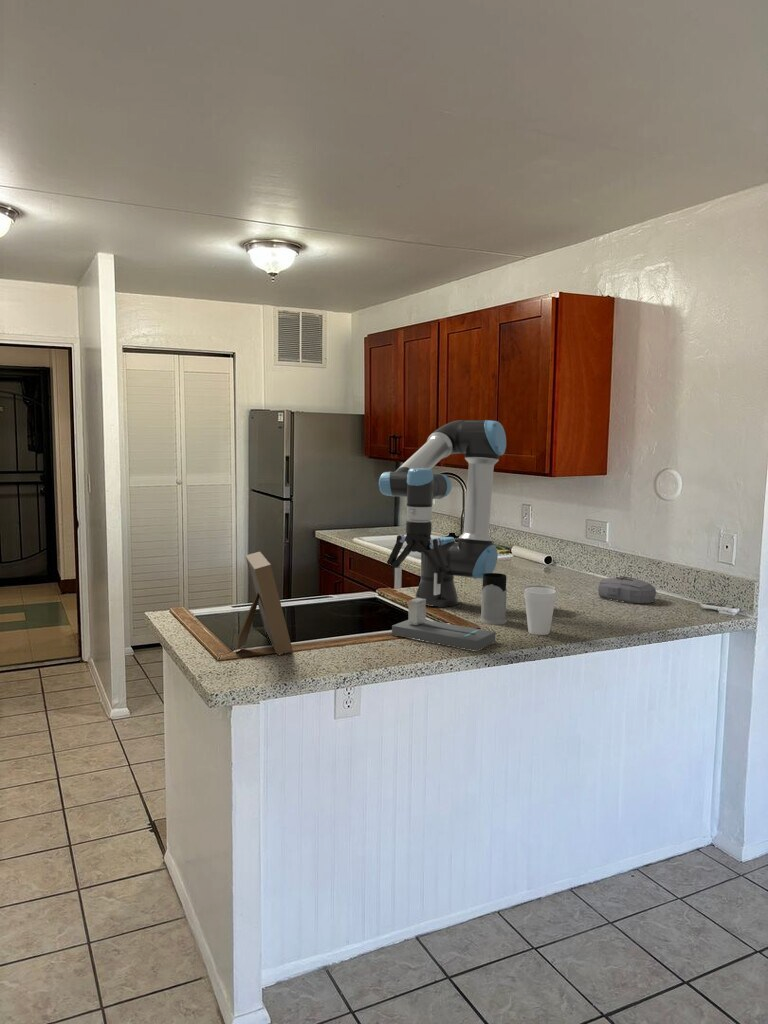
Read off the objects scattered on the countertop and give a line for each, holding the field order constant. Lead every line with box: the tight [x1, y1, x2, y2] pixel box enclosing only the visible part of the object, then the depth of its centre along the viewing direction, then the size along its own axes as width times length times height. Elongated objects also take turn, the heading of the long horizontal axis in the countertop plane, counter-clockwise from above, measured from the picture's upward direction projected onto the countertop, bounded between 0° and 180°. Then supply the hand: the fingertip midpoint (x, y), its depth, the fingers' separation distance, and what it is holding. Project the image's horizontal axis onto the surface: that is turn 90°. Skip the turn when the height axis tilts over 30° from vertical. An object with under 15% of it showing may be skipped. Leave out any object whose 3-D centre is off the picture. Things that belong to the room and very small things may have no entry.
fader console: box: [391, 619, 497, 651], centre depth 226 cm, size 28×12×3 cm, turn 56°
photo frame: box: [235, 551, 294, 655], centre depth 215 cm, size 15×22×25 cm
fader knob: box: [407, 598, 427, 625], centre depth 231 cm, size 3×5×7 cm, turn 146°
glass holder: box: [479, 572, 508, 625], centre depth 250 cm, size 9×14×15 cm, turn 160°
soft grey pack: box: [597, 575, 658, 604], centre depth 283 cm, size 15×8×20 cm
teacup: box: [522, 583, 556, 607], centre depth 265 cm, size 14×11×8 cm
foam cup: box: [523, 587, 557, 636], centre depth 235 cm, size 10×9×13 cm
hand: (417, 591), depth 230 cm, fingers open, 13 cm apart
